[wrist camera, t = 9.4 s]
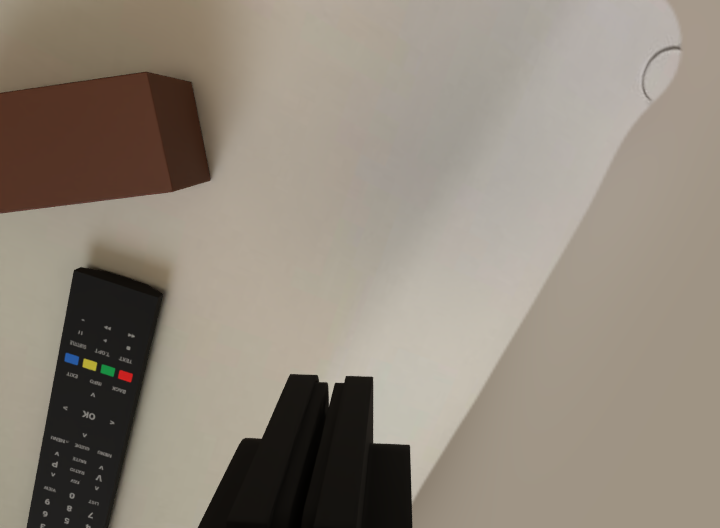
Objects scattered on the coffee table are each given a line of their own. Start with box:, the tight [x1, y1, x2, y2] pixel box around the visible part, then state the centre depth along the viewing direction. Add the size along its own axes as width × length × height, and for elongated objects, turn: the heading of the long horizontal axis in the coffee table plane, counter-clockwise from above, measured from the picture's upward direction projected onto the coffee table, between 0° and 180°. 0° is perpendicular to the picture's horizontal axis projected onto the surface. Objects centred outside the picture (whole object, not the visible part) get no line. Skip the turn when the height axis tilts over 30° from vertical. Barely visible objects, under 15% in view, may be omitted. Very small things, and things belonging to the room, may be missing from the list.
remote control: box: [27, 267, 163, 528], centre depth 35 cm, size 5×24×1 cm, turn 162°
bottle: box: [0, 72, 211, 213], centre depth 28 cm, size 6×6×18 cm
